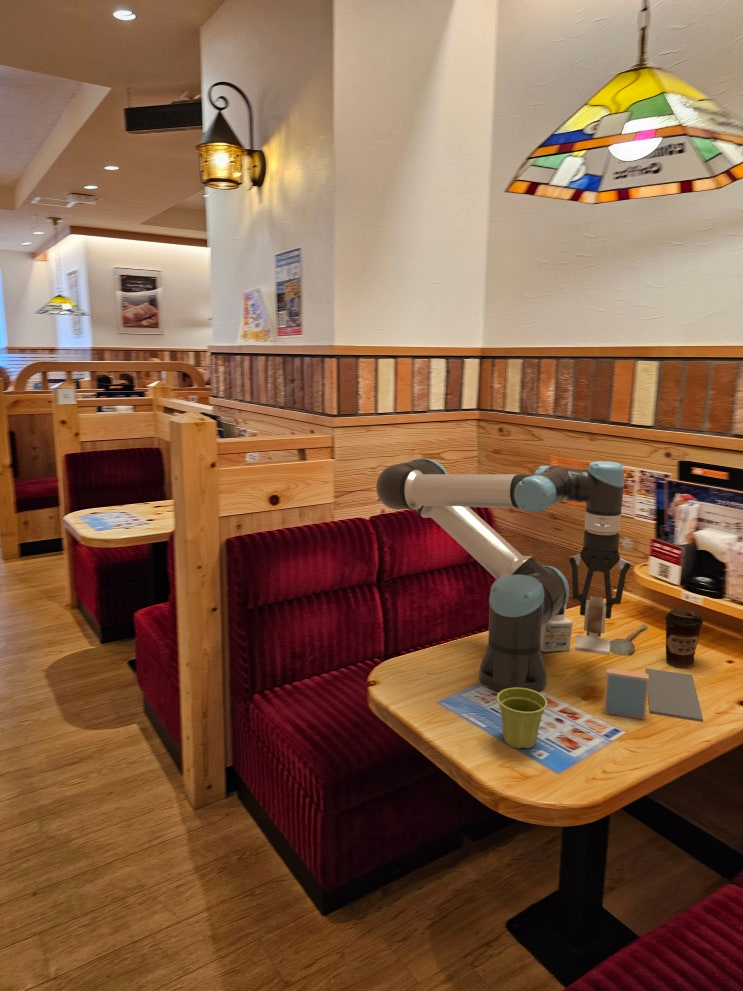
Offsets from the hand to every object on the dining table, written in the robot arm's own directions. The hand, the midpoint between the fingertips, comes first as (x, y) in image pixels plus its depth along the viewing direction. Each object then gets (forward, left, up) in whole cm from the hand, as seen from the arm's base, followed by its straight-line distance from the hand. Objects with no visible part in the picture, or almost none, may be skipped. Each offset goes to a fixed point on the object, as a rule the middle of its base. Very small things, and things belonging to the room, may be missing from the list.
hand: (594, 629), depth 154 cm
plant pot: (-12, -34, -11) cm, 38 cm away
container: (-11, +13, -11) cm, 20 cm away
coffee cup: (+20, +14, -11) cm, 27 cm away
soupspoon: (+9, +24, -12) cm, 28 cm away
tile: (+7, -16, -11) cm, 21 cm away
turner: (0, -3, 0) cm, 3 cm away
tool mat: (+17, -4, -11) cm, 21 cm away
